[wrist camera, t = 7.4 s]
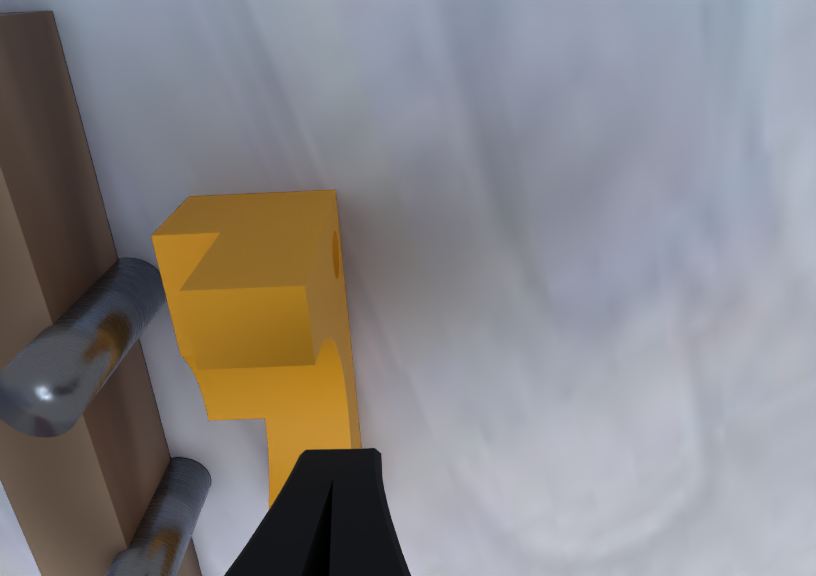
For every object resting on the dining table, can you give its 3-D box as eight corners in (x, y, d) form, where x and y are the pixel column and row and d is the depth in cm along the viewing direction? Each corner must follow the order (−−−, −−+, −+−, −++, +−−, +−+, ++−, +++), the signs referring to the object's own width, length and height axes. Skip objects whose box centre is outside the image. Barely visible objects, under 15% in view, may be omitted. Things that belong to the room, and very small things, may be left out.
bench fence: (143, 621, 27) (79, 782, 22) (-63, 15, 16) (-293, 36, 11) (243, 619, 27) (203, 779, 22) (102, 9, 16) (-49, 26, 11)
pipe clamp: (190, 195, 19) (94, 294, 13) (336, 188, 19) (305, 285, 13) (253, 495, 24) (205, 661, 18) (366, 491, 24) (354, 655, 18)
